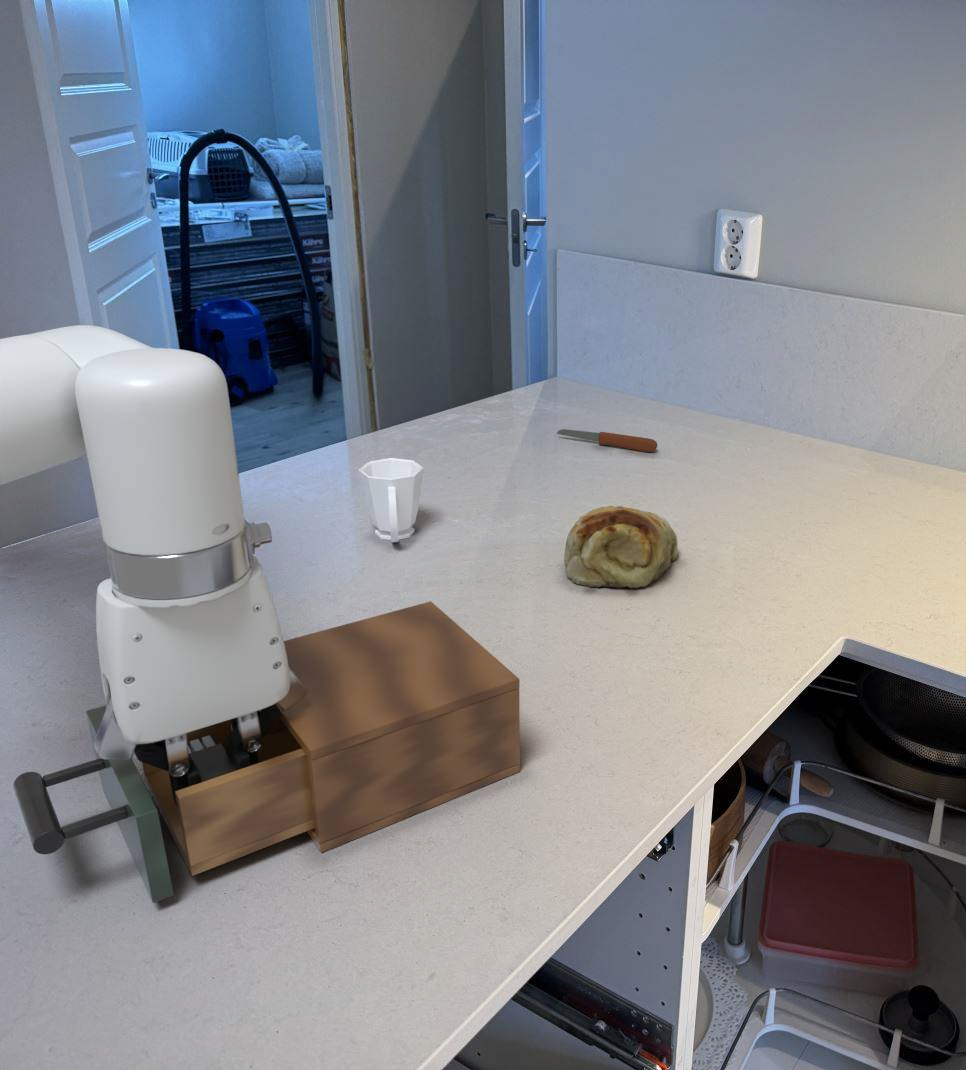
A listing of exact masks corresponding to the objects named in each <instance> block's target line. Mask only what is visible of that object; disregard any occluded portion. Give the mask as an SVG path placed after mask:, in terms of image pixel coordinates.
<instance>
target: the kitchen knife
mask: <svg viewBox="0 0 966 1070" xmlns="http://www.w3.org/2000/svg"><path fill="white" fill-rule="evenodd" d="M556 434H557V435H561V436H566V437H571V438H576V439H580V440H586V441H592V442H593V441H594V442H598V444H599V445H600V446H614V447H619V448H622V449H623V448H624V449H628V450H632V451H633V450H634V451H638V452H643V453H653V452H654V451H656V450H657V449H658V442H657V441H656V440H655V439H652V438H649V437H641V436H634V435H627V434H620V433H615V432H613V433H612V432H607V431H600V432H594V431H584V430H576V429H567V428H566V429H565V428H563V429H562V428H561V429H560V430H558V431H557V432H556Z"/></svg>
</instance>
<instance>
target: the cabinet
mask: <svg viewBox="0 0 966 1070" xmlns="http://www.w3.org/2000/svg"><path fill="white" fill-rule="evenodd" d="M284 645H285V649H286V654H287V659H288V666H289V668H290V669H291V670H292V671H293V673H294V674H295V675H296V676H297V678H298V679H299V680H300V681H301V682H302V684H303V685H304V686H305V687H306V689H307V694H306V696H305V697H304V698H303V699H301V700H300V701H299V702H297V703H296V704H294V705H293V706H292V707H290V708H289V709H288V710H286V711H283V712H282V713H281V714H280V716H279V717H280V719H281V720H282V721H283V723H284V724H285V726H286V727H287V728H288V730H289V731H290V732H291V734H292V735H293V736H294V738H295V739H296V740H297V742H298V743H299V745H300V746H301V747H302V749H303V750H304V751H305V753H306V754H307V760H308V769H309V778H310V787H311V796H312V806H313V815H314V824H315V828H313V829H311V830H308V831H306V832H307V834H308V836H309V837H310V839H311V840H312V841H313V843H314V845H315V846H316V847H317V849H318V850H319V852H320V853H325V852H327V851H330V850H333V849H334V848H337V847H340V846H342V845H344V844H346V843H349V842H351V841H355V840H357V839H359V838H361V837H363V836H366V835H369V834H371V833H373V832H376V831H378V830H381V829H383V828H385V827H388V826H392V825H393V824H396V823H398V822H400V821H403V820H405V819H408V818H410V817H413V816H415V815H417V814H421V813H422V812H425V811H427V810H430V809H432V808H434V807H437V806H440V805H442V804H445V803H447V802H449V801H452V800H454V799H456V798H459V797H461V796H463V795H466V794H469V793H472V792H474V791H476V790H478V789H481V788H484V787H486V786H488V785H490V784H493V783H495V782H498V781H501V780H503V779H505V778H508V777H511V776H513V775H515V774H518V773H520V770H521V769H520V768H521V765H520V763H521V761H520V759H521V755H520V754H521V753H520V752H521V751H520V750H521V749H520V748H521V747H520V745H521V743H520V742H521V741H520V736H521V735H520V734H521V733H520V732H521V731H520V730H521V729H520V728H521V727H520V726H521V725H520V724H521V723H520V715H521V714H520V713H521V712H520V684H521V683H520V681H521V680H520V677H518V676H517V675H516V674H515V673H513V672H512V671H511V670H510V669H509V668H508V667H506V665H504V664H503V663H502V662H501V661H500V660H499V659H497V657H496V656H494V655H493V654H492V653H491V652H489V651H488V649H486V648H485V647H484V646H483V645H482V644H480V642H478V641H477V640H476V639H475V638H473V636H471V635H470V634H469V633H468V632H467V631H466V630H465V629H463V628H462V627H461V626H460V625H459V624H458V623H457V622H455V621H454V620H453V619H452V618H451V617H449V616H448V615H447V614H446V613H445V612H444V611H443V610H441V609H440V607H438V606H437V605H436V604H435V603H433V601H432V600H429V601H426V602H422V603H420V604H419V603H418V604H414V605H412V606H408V607H404V608H401V609H397V610H393V611H390V612H386V613H383V614H382V613H381V614H379V615H375V616H371V617H367V618H364V619H360V620H357V621H353V622H349V623H346V624H341V625H338V626H335V627H330V628H327V629H324V630H319V631H316V632H312V633H308V634H305V635H301V636H297V637H294V638H290V639H286V640H284Z"/></svg>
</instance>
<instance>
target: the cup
mask: <svg viewBox="0 0 966 1070" xmlns="http://www.w3.org/2000/svg"><path fill="white" fill-rule="evenodd" d="M358 473H359V479H360V482H361V487H362V490H363V494H364V498H365V503H366V507H367V510H368V513H369V516H370V518H371V521H372V524H373V526H375V527H376V529H375V530H374V534H375V535H376V536H377V537H378V538H379V539H380V540H388V541H390V543H399V542H400V540H404V539H409V538H411V536H412V535H413V534H414V533H415V528H414V527H413V525H414V524H415V523H416V520H417V515H418V511H419V507H420V499H421V491H422V483H423V476H424V475H423V474H424V467H423V466H422V465H421V464H419V463H418V462H416V461H415V460H413V459H404V458H395V457H389V458H382V459H375V460H370V461H367V462H366V463H365V464H364V465H362V466H361V467H360V468H359V469H358Z"/></svg>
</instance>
